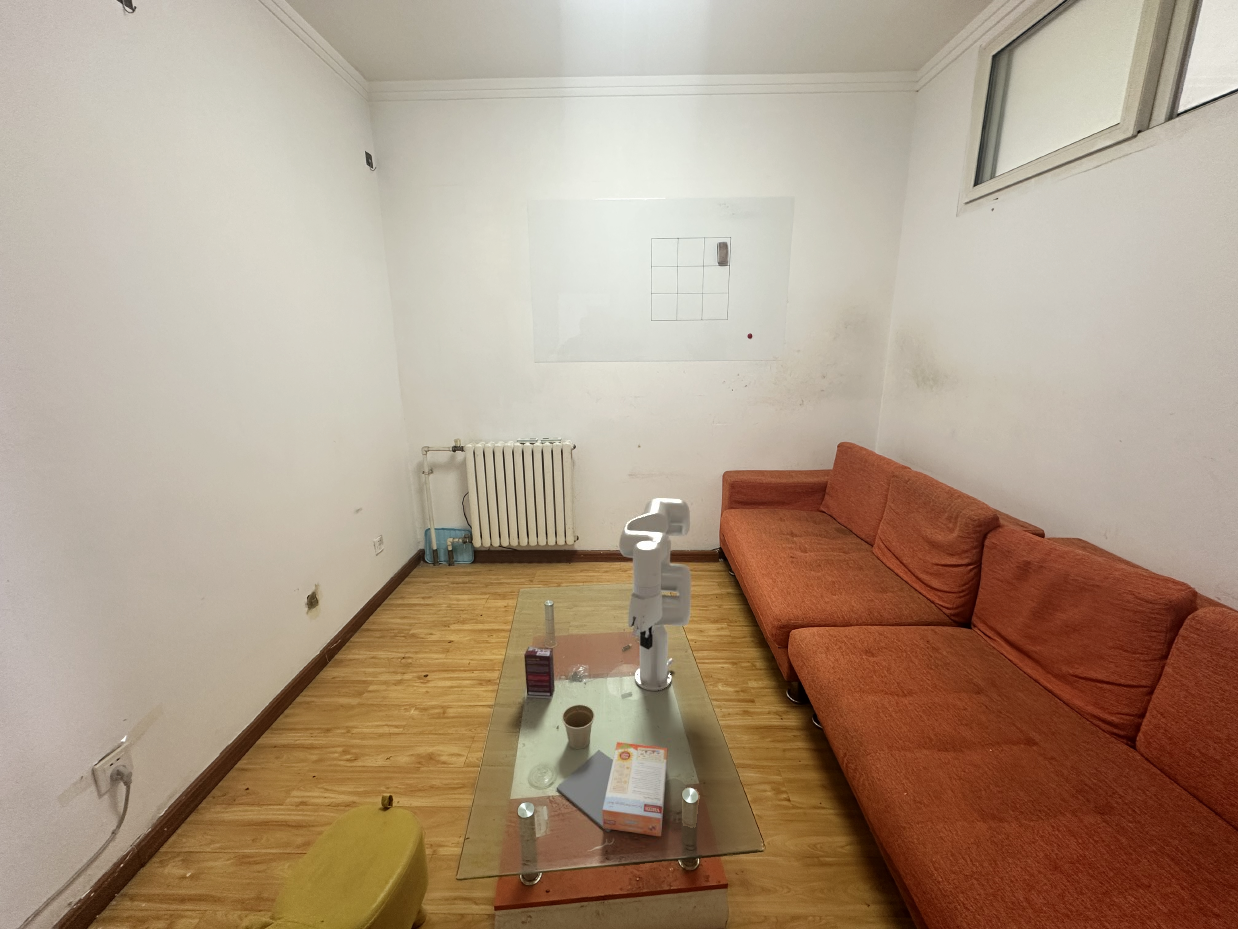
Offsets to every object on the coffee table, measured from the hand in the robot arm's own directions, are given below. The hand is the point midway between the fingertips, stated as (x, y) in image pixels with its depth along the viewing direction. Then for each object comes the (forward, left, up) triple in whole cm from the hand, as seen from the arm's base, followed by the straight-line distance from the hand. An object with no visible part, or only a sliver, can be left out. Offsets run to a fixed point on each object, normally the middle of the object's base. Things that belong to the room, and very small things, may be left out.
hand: (646, 646), depth 136 cm
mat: (+20, +2, -31) cm, 37 cm away
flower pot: (+13, -14, -31) cm, 36 cm away
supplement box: (+7, -38, -31) cm, 49 cm away
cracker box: (+7, +5, -27) cm, 29 cm away
